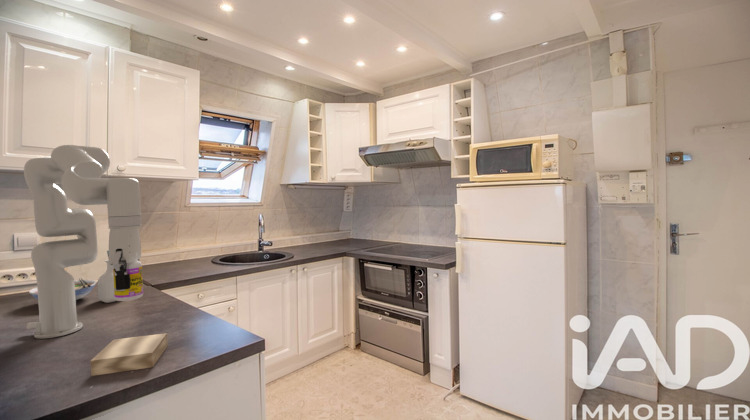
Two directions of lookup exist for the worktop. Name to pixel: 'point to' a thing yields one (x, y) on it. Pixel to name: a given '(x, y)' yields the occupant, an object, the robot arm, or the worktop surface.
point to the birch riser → (129, 354)
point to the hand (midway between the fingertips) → (128, 285)
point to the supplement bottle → (131, 283)
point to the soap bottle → (106, 284)
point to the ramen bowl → (80, 288)
